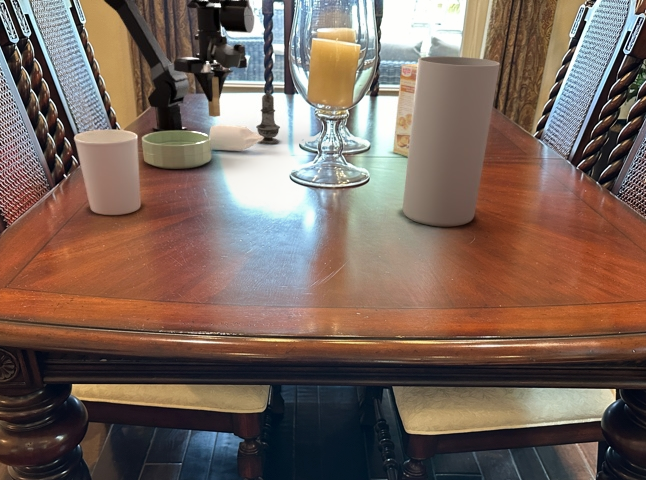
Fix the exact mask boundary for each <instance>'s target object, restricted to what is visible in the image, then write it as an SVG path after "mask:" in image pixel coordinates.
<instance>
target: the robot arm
mask: <svg viewBox="0 0 646 480" xmlns="http://www.w3.org/2000/svg"><path fill="white" fill-rule="evenodd" d="M103 2H105V4H107V5H108V6H109V7H110V8H111V9H113V11H115V12H116V13H117V15H118V16H119V18H120V19H121V21H122V24H124V26H125V28H126V29H127V32H128V33H129V35H130V36H131V38H132V40H133V42H134V43H135V45H136V46H137V49H138V50H139V52H140V53H141V55H142V57H143V58H144V60H145V62H146V63H147V66H148V67H149V69H150V74H151V81H152V84H153V86H154V90H153V91H152V92H151V93H150V95H149V96H148V97H147V100H148V103H149V106H150V107H151V108H154V111H155V121H156V126H152V127H151V130H153V131H156V132H160V131H188V130H187V127H185V126H183V120H182V112H181V105H180V104H184V102H185V99H186V98H185V97H186V96H187V95H188V93H189V89H190V83H189V80H188V79H189V76H188V75H187V74H193V75H194V77H195V79H196V80H197V82H198V83H199V85H200V88H201V90H202V91H203V93H204V95H205V97H206V99H207V102H208V101H210V102H212V78H213V77H218V82H219V100H220V99H221V95H222V92H223V88H224V85H225V82H226V79H227V77H228V76H229V75H230V74H232V73H234V70H233V69H231V68H237V69H246V68H248V59H247V56H246V47H245V45H244V44H242V43H235V45H229V44H228V38H227V35H223V29H224V31H225V32H228V33H241V34H251V33H252V32H253V31H254V28H255V27H254V26H255V15H254V11H253V8H252V7H251V0H191V1H189V2H188V3H187V5H186V7H187V9H196V10H195V11H196V12H195V13H196V28H197V34H194V35H193V36H194V37H193V38H194V41H197V43H198V53H195V57H190V56H182V57H176V58H175V59H174V61H173V63H172V62H171V61H170V60H169V59H168V58H167V56H166V54H165V53H164V51H163V49H162V47H161V46H160V44H159V42H158V41H157V39H156V37H155V35H154V33H153V32H152V30H151V29H150V27H149V25H148V23H147V22H146V19H145V18H144V16H143V15H142V13H141V11H140V9H139V8H138V6H137V5H136V2H135V0H103ZM216 4H219V5H216ZM186 73H187V74H186Z"/></svg>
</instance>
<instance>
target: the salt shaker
mask: <svg viewBox="0 0 646 480" xmlns="http://www.w3.org/2000/svg"><path fill="white" fill-rule="evenodd" d="M274 99H275V97H274V95H272V94H270V91H269V90H268V89H267V90H266V93H265V94H264V95H262V97H261V109H260V112H261V122H260V124H257V125H256V126H255V128H256V129H257V134H259V135H261V136H263V137H264V138H263V139H262V140H261V141H259V142H258V143H259V144H263V145H275V144H279V143H280V140H278V139H277V138H276V137H277V136H278V134H279V133H280V129H281V126H280V125H278V124H276V121H275V112H276V110H275V106H274V105H275V103H274V101H275V100H274Z"/></svg>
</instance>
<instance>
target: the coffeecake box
mask: <svg viewBox="0 0 646 480" xmlns="http://www.w3.org/2000/svg"><path fill="white" fill-rule="evenodd" d="M417 65H418V63H408V64H401V68H400V78H399V86H398V87H399V89H398V97H397V98H398V99H397V107H396V118H395V128H394V138H393V147H392V153H395V154H398V155H401V156H404V157H407V158H408V151H409V142H410V132H411V123H412V113H413V104H414V94H415V84H416V75H417Z"/></svg>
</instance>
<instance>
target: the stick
mask: <svg viewBox="0 0 646 480" xmlns="http://www.w3.org/2000/svg"><path fill="white" fill-rule="evenodd" d="M207 104H208V117H212V118H217V117H221V104H220V99H219V82H218V77H213V78H212V102H210V101H208V100H207Z"/></svg>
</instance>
